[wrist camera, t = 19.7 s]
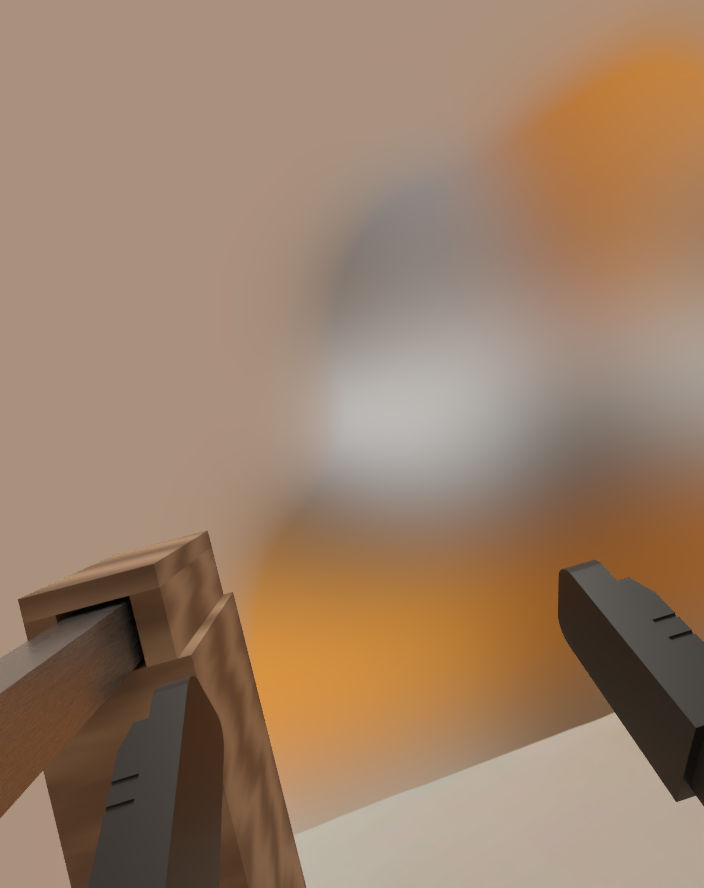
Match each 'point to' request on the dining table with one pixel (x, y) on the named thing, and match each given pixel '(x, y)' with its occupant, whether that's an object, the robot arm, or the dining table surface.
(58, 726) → the shaft
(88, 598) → the tower
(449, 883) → the dining table surface
